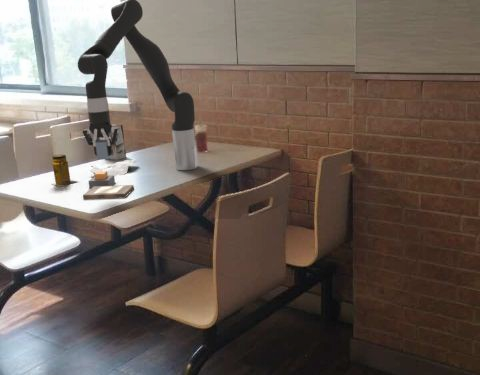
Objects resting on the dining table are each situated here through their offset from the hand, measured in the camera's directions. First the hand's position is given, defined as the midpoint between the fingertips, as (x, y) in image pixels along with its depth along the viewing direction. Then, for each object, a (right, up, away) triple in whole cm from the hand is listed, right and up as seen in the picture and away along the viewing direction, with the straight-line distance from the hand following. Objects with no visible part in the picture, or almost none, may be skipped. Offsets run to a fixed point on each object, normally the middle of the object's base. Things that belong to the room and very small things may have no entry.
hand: (104, 155), depth 222 cm
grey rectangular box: (0, -1, 0) cm, 1 cm away
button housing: (-5, -11, +17) cm, 21 cm away
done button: (-5, -9, +17) cm, 20 cm away
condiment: (-22, -10, +25) cm, 35 cm away
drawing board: (+1, -14, +4) cm, 15 cm away
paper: (-5, -5, +41) cm, 41 cm away
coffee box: (-10, +2, +68) cm, 68 cm away
